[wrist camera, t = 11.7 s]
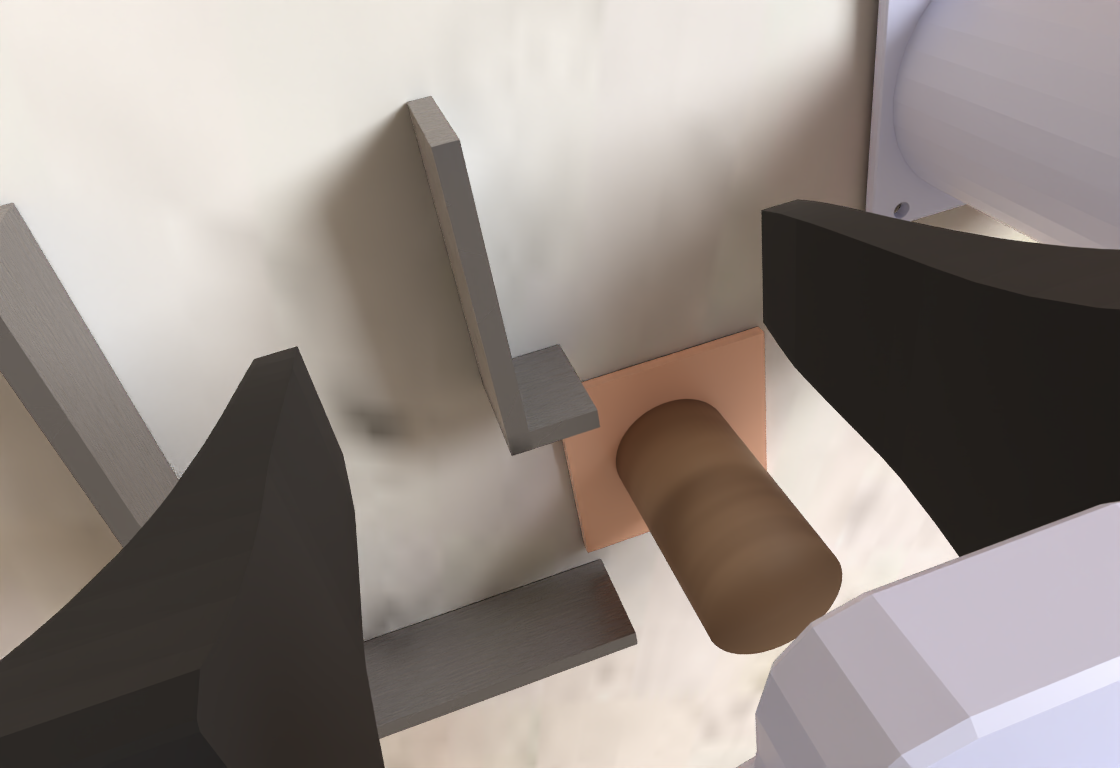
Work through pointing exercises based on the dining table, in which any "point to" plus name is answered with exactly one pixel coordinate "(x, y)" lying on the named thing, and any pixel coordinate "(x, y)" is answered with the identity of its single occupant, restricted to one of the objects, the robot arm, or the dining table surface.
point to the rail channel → (147, 479)
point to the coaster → (623, 396)
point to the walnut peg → (726, 528)
